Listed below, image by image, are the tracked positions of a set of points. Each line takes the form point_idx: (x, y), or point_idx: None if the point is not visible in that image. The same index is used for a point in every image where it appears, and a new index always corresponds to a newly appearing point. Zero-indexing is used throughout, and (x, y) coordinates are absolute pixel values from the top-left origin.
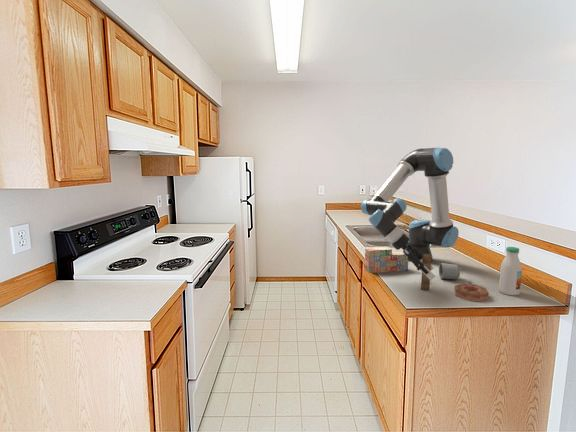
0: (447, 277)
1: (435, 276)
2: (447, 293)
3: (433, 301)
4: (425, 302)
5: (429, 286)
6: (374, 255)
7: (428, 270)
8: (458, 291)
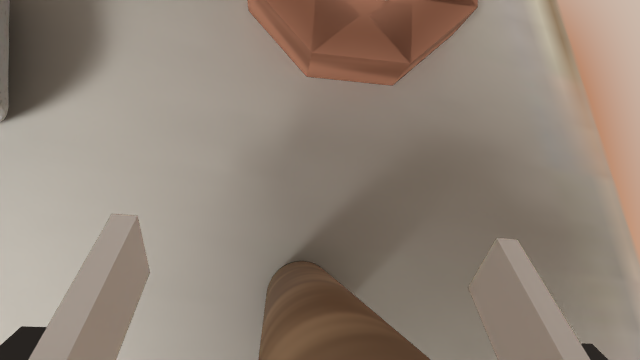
0: (8, 65)
1: (513, 241)
2: (356, 135)
3: (538, 258)
4: (572, 316)
5: (321, 268)
6: None
7: (578, 354)
8: (420, 56)
